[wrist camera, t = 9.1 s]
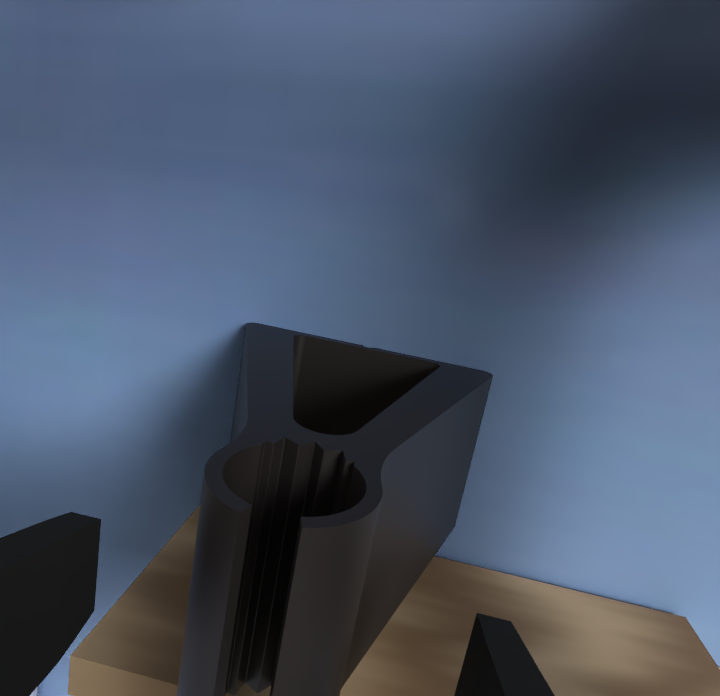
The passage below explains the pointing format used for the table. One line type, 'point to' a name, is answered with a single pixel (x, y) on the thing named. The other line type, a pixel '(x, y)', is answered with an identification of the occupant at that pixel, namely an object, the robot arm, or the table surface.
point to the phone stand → (322, 509)
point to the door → (416, 636)
